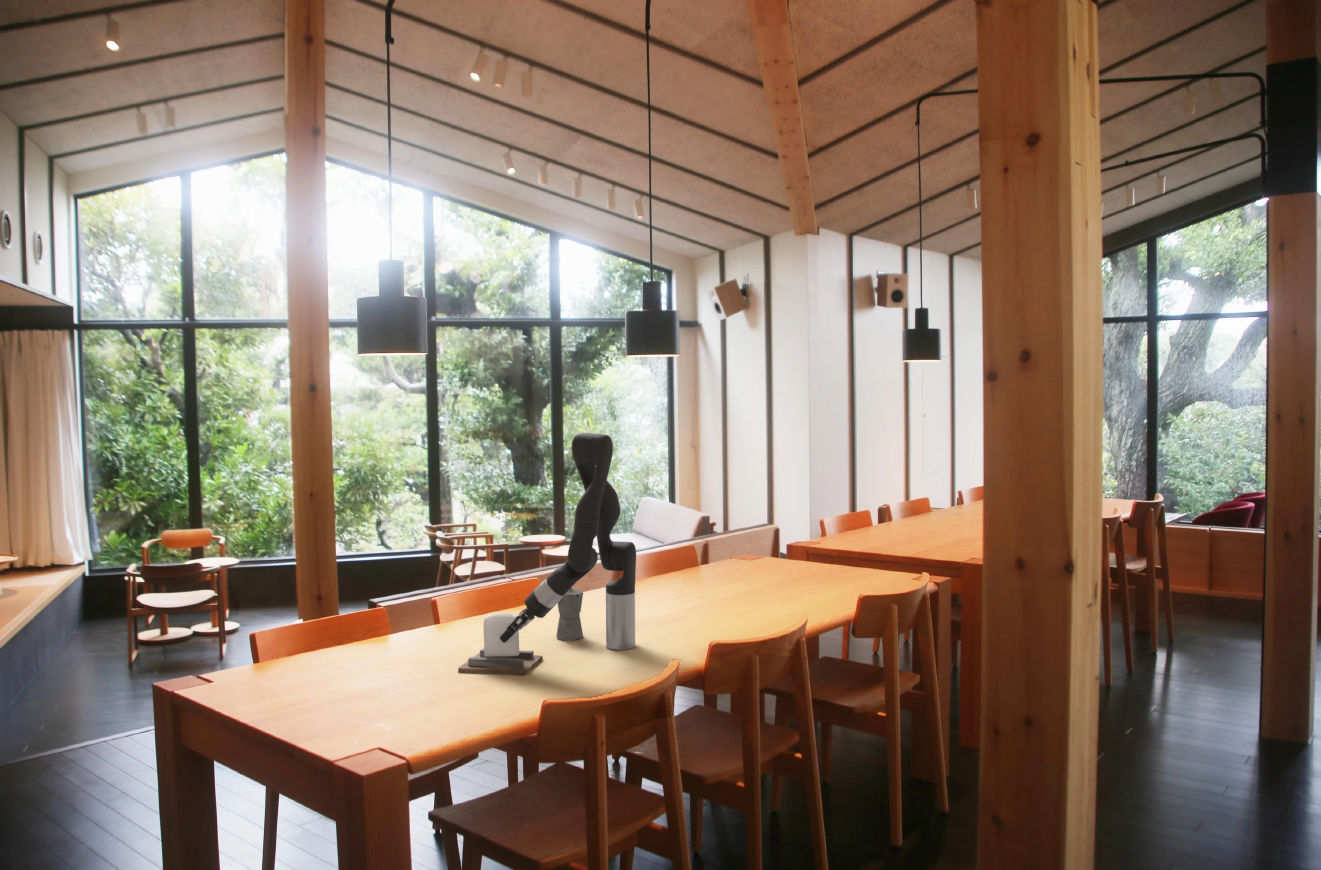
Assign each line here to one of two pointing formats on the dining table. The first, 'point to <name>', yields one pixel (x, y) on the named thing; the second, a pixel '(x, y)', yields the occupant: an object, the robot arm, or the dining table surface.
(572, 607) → the coffeepot
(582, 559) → the robot arm
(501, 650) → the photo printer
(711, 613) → the dining table surface
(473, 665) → the cradle
